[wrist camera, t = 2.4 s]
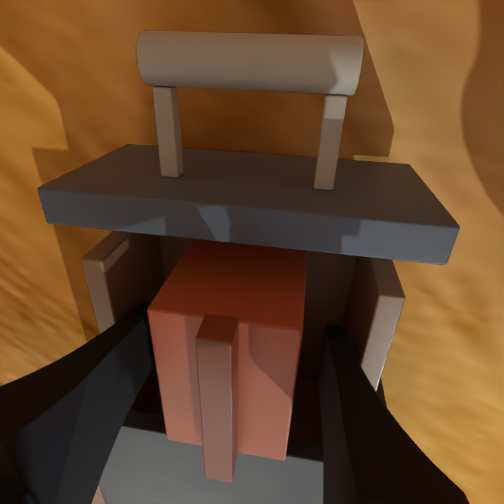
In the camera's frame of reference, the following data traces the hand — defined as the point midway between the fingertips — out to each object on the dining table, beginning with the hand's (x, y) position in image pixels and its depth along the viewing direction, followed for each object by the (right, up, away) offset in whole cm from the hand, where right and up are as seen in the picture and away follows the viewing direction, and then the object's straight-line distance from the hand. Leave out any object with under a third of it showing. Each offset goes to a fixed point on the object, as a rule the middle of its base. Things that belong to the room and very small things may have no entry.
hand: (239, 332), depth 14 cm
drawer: (+1, +4, +3) cm, 5 cm away
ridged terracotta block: (+1, +2, +3) cm, 3 cm away
